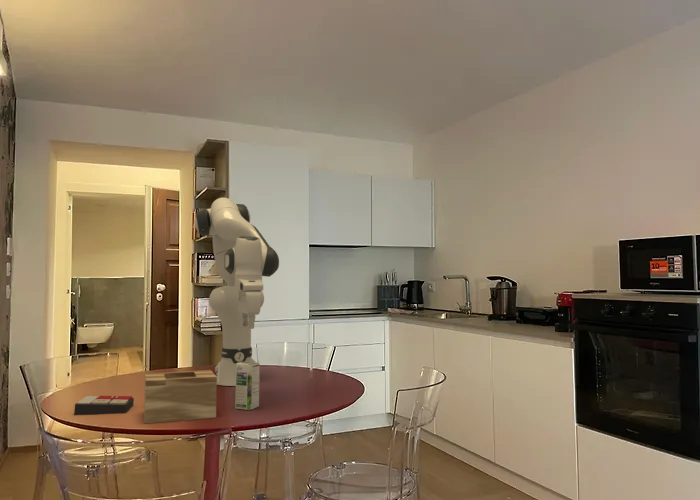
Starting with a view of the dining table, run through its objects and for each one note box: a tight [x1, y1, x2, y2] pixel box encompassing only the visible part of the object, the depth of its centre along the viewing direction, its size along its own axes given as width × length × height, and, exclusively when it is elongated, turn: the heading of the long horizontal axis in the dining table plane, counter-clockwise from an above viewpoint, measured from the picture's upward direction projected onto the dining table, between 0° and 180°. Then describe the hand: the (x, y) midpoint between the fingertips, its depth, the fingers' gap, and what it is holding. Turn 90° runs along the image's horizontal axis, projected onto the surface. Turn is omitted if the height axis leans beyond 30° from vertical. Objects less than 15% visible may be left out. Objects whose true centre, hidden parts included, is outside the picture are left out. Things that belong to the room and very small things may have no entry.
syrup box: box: [234, 361, 260, 411], centre depth 175 cm, size 6×6×14 cm
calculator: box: [73, 395, 135, 416], centre depth 172 cm, size 11×4×15 cm
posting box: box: [143, 369, 218, 424], centre depth 166 cm, size 14×20×12 cm
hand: (248, 327), depth 176 cm, fingers open, 8 cm apart
